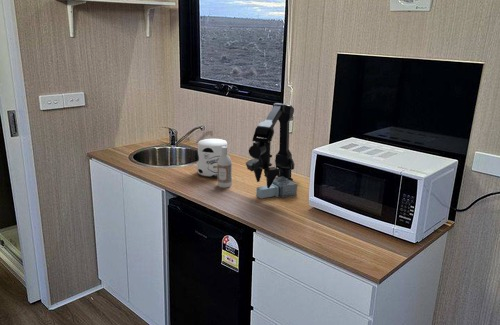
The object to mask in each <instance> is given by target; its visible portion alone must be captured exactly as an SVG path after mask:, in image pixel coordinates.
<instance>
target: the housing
mask: <svg viewBox="0 0 500 325" xmlns="http://www.w3.org/2000/svg"><path fill="white" fill-rule="evenodd" d="M272 184H274V185H277V186H279V196H278V197H279V198H280V199H286V198H287V199H288V198H292V197H297V193H298V192H297V191H298V183H296V182H295V181H293V180H289V179H287V178H285V177H283V176H282V177H277V176H276V178H275V179H274V181H273V183H272Z"/></svg>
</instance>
